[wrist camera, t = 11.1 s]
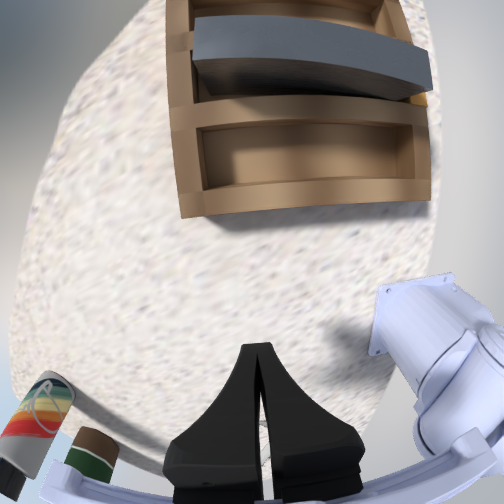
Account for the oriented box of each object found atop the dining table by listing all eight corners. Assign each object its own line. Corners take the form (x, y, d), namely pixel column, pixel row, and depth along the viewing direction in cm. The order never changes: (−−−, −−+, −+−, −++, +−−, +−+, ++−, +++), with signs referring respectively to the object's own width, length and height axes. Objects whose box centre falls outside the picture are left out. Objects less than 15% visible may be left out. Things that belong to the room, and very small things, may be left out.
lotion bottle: (70, 378, 25) (7, 498, 6) (80, 404, 27) (31, 514, 8) (38, 363, 24) (-30, 468, 6) (49, 391, 26) (-4, 489, 7)
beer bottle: (122, 456, 31) (95, 564, 9) (82, 440, 30) (46, 541, 8) (118, 437, 29) (82, 563, 6) (74, 418, 28) (26, 534, 5)
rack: (381, 8, 14) (399, -9, 10) (408, 193, 19) (435, 200, 16) (176, 5, 14) (165, -18, 10) (192, 209, 19) (180, 219, 16)
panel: (375, 77, 15) (427, 50, 9) (376, 107, 16) (433, 89, 10) (211, 64, 15) (195, 17, 8) (210, 95, 16) (192, 60, 9)
